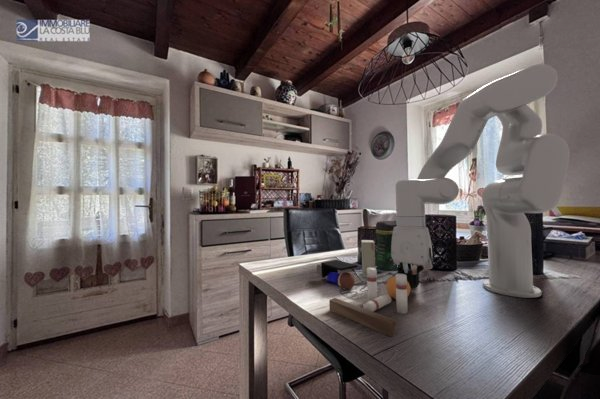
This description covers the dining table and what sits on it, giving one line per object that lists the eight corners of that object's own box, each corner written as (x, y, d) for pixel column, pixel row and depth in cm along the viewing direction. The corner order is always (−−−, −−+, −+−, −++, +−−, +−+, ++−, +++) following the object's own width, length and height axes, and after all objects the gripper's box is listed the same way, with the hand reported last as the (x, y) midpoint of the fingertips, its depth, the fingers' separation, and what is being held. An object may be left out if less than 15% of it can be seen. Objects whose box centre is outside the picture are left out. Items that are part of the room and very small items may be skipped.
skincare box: (376, 278, 83) (375, 242, 83) (362, 278, 84) (361, 242, 84) (374, 273, 89) (373, 239, 90) (362, 272, 90) (361, 239, 91)
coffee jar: (386, 272, 90) (385, 221, 91) (373, 267, 98) (371, 220, 98) (407, 269, 94) (405, 220, 94) (392, 264, 101) (390, 219, 102)
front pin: (381, 296, 64) (361, 305, 58) (387, 292, 62) (367, 301, 57) (386, 305, 62) (366, 315, 57) (393, 301, 61) (373, 311, 56)
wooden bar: (335, 307, 60) (334, 297, 60) (396, 333, 48) (396, 320, 48) (329, 310, 59) (329, 300, 59) (391, 336, 47) (390, 323, 47)
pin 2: (399, 308, 59) (398, 273, 59) (409, 311, 57) (408, 275, 58) (394, 311, 58) (393, 275, 58) (404, 314, 56) (403, 277, 56)
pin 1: (371, 299, 65) (370, 267, 66) (379, 301, 64) (378, 268, 64) (365, 301, 64) (365, 268, 64) (373, 304, 62) (372, 270, 62)
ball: (380, 277, 66) (383, 300, 66) (401, 281, 61) (404, 305, 61) (392, 271, 69) (395, 292, 69) (413, 274, 65) (416, 297, 65)
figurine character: (315, 284, 83) (342, 292, 70) (314, 261, 84) (340, 265, 71) (332, 281, 86) (361, 288, 73) (330, 258, 87) (358, 262, 74)
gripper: (380, 222, 73) (381, 283, 73) (432, 224, 62) (435, 297, 62) (393, 220, 78) (394, 278, 78) (444, 222, 67) (446, 290, 66)
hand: (412, 286), depth 70 cm, fingers closed
